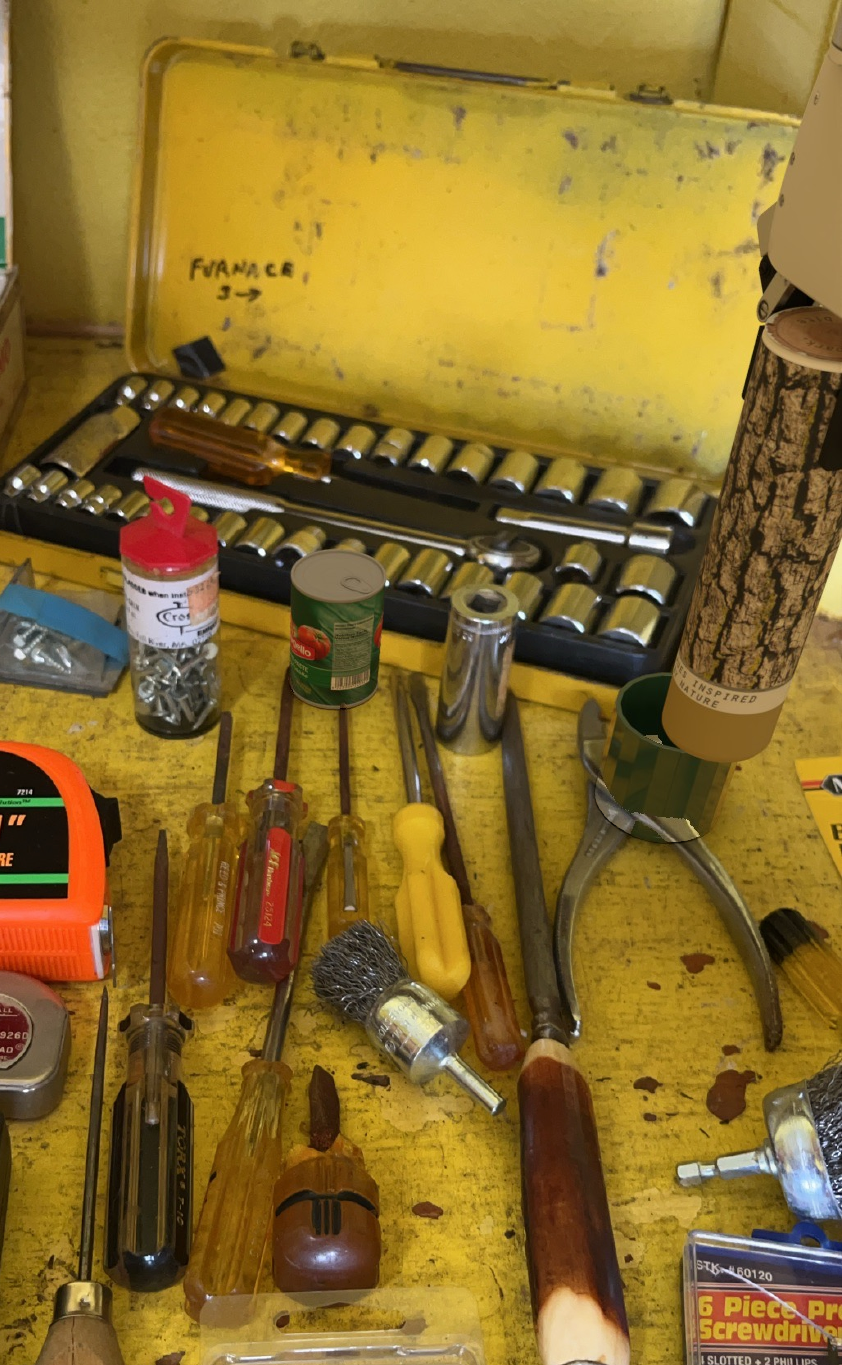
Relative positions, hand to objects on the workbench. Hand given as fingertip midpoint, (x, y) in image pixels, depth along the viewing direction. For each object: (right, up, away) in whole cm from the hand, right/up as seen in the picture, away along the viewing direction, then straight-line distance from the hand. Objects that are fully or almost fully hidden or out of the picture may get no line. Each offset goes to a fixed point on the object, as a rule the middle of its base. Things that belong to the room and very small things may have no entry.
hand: (807, 428), depth 65 cm
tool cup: (+2, -17, +35) cm, 39 cm away
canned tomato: (-23, -6, +46) cm, 52 cm away
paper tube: (0, -14, +14) cm, 20 cm away
